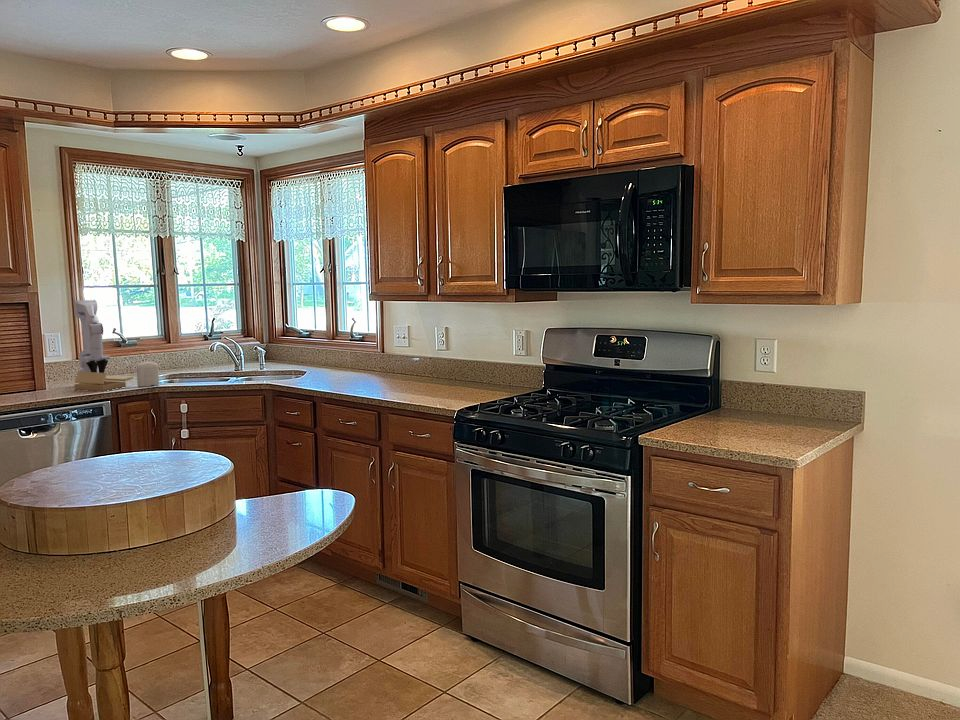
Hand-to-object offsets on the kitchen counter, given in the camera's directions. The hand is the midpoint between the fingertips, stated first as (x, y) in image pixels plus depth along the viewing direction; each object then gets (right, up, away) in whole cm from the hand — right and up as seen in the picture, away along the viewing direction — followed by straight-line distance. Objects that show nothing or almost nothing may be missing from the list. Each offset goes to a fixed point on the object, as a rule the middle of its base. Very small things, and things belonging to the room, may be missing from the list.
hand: (98, 375), depth 364 cm
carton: (0, -7, +2) cm, 7 cm away
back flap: (+3, -1, +10) cm, 11 cm away
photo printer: (+20, -6, +12) cm, 24 cm away
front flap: (-1, -1, -4) cm, 4 cm away
